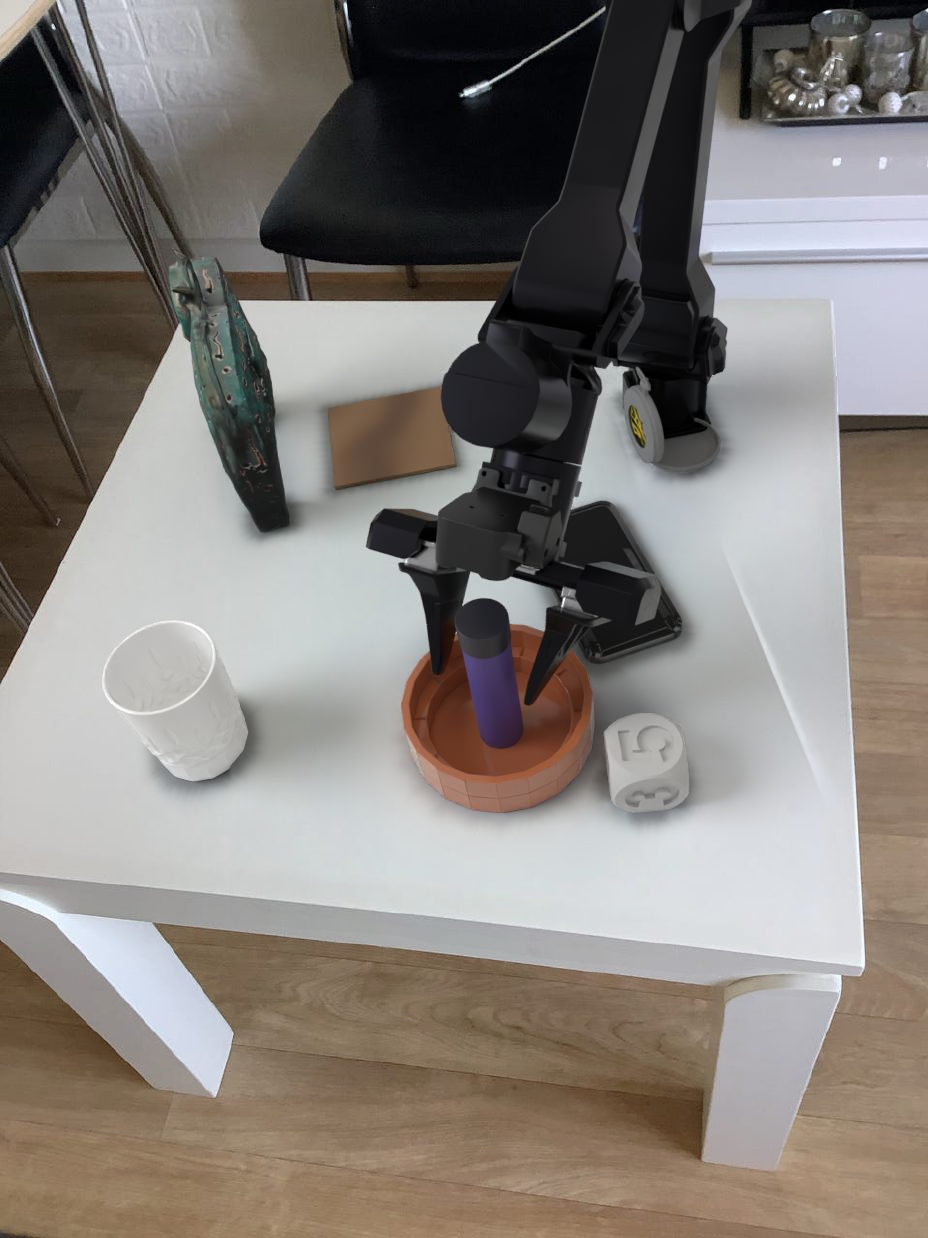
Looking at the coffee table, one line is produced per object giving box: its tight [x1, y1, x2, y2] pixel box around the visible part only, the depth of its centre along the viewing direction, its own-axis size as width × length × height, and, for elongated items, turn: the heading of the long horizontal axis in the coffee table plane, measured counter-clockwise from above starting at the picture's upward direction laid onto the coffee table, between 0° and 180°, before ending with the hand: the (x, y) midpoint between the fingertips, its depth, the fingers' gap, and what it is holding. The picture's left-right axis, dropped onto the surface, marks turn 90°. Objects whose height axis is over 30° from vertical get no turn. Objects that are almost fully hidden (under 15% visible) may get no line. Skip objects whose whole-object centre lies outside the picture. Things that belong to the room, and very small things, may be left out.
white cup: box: [101, 619, 249, 782], centre depth 75 cm, size 8×8×10 cm
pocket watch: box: [623, 367, 721, 474], centre depth 88 cm, size 8×8×10 cm
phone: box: [550, 500, 683, 665], centre depth 83 cm, size 8×1×15 cm
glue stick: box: [455, 597, 524, 749], centre depth 71 cm, size 3×3×13 cm
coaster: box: [327, 385, 457, 490], centre depth 97 cm, size 11×11×1 cm
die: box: [602, 712, 690, 814], centre depth 70 cm, size 5×5×5 cm
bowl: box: [400, 623, 596, 813], centre depth 74 cm, size 13×13×4 cm
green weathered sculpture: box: [168, 247, 291, 533], centre depth 90 cm, size 20×6×20 cm, turn 15°
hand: (482, 689), depth 70 cm, fingers open, 6 cm apart
